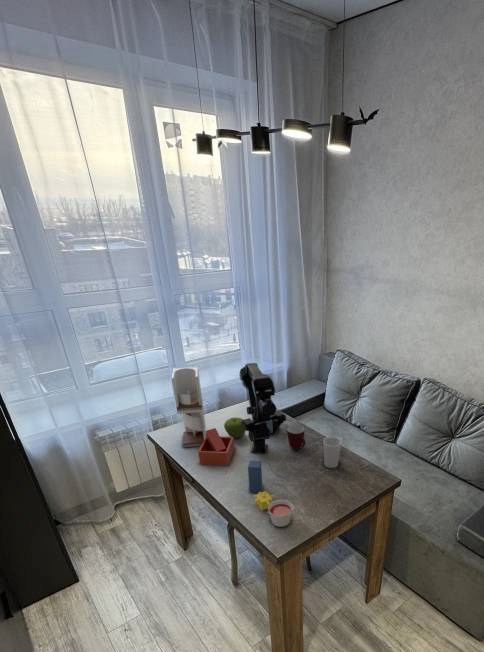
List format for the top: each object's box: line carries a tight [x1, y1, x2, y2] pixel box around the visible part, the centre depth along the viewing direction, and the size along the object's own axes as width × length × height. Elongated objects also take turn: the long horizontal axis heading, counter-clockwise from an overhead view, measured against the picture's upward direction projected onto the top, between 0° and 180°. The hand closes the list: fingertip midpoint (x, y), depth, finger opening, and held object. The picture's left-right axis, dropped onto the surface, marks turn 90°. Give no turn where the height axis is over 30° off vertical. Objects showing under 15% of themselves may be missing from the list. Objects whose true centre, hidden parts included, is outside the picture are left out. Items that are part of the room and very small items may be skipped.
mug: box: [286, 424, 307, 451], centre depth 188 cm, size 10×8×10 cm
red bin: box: [197, 435, 236, 466], centre depth 180 cm, size 14×13×6 cm
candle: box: [267, 499, 294, 528], centre depth 146 cm, size 9×9×6 cm
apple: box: [223, 416, 247, 439], centre depth 195 cm, size 11×10×10 cm
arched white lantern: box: [171, 366, 207, 448], centre depth 184 cm, size 11×11×35 cm
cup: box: [322, 436, 342, 469], centre depth 177 cm, size 8×8×12 cm
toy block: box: [254, 490, 275, 511], centre depth 152 cm, size 8×8×6 cm
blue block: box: [247, 460, 263, 494], centre depth 159 cm, size 4×4×12 cm
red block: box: [206, 427, 226, 452], centre depth 179 cm, size 4×4×12 cm
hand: (264, 437), depth 172 cm, fingers open, 9 cm apart
